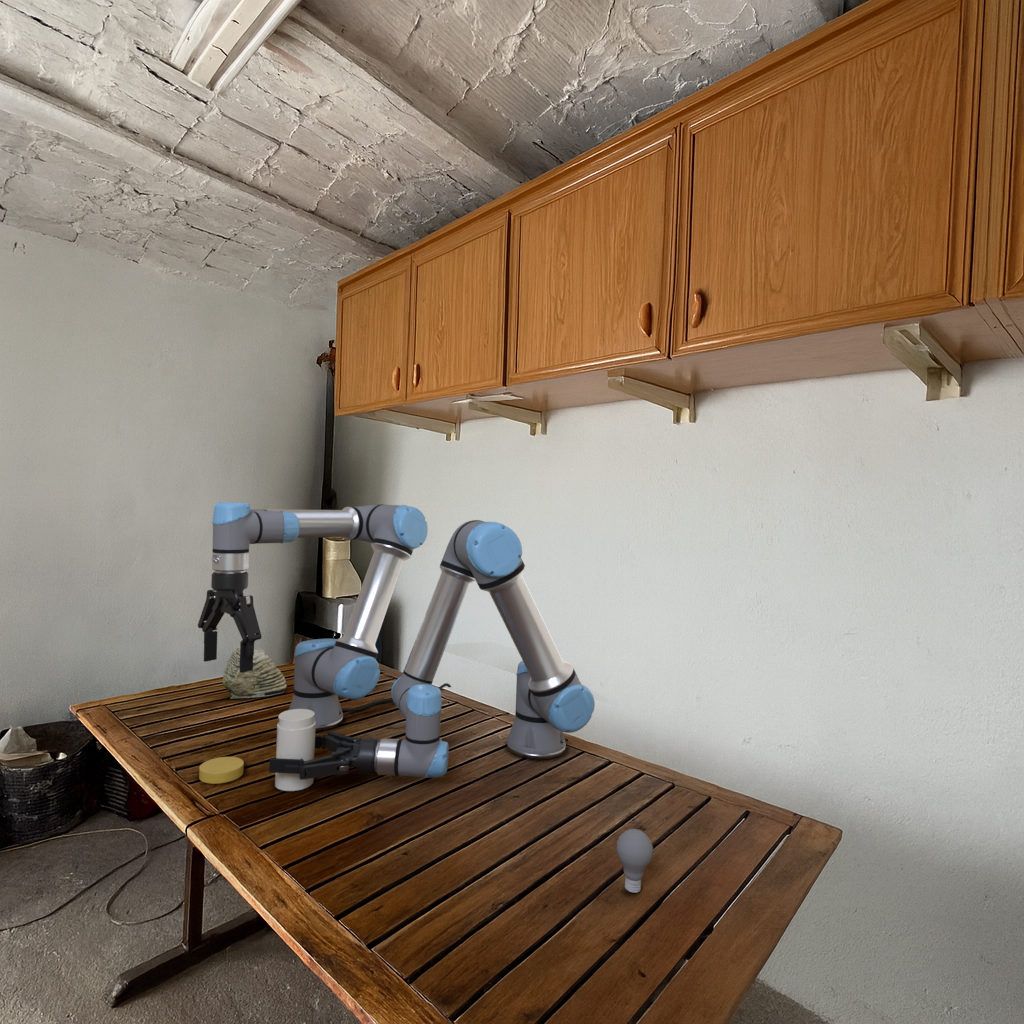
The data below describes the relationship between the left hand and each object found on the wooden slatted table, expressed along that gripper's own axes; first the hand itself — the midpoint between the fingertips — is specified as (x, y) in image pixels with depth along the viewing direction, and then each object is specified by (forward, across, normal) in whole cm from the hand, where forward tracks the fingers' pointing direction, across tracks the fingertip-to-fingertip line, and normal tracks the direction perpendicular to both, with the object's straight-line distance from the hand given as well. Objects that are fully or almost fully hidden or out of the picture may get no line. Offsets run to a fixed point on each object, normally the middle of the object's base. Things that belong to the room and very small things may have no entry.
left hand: (227, 665), depth 142 cm
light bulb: (+25, +92, +15) cm, 96 cm away
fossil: (+25, -44, +38) cm, 63 cm away
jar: (+25, +16, +7) cm, 30 cm away
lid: (+23, 0, -1) cm, 23 cm away
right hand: (+18, +13, +5) cm, 23 cm away
